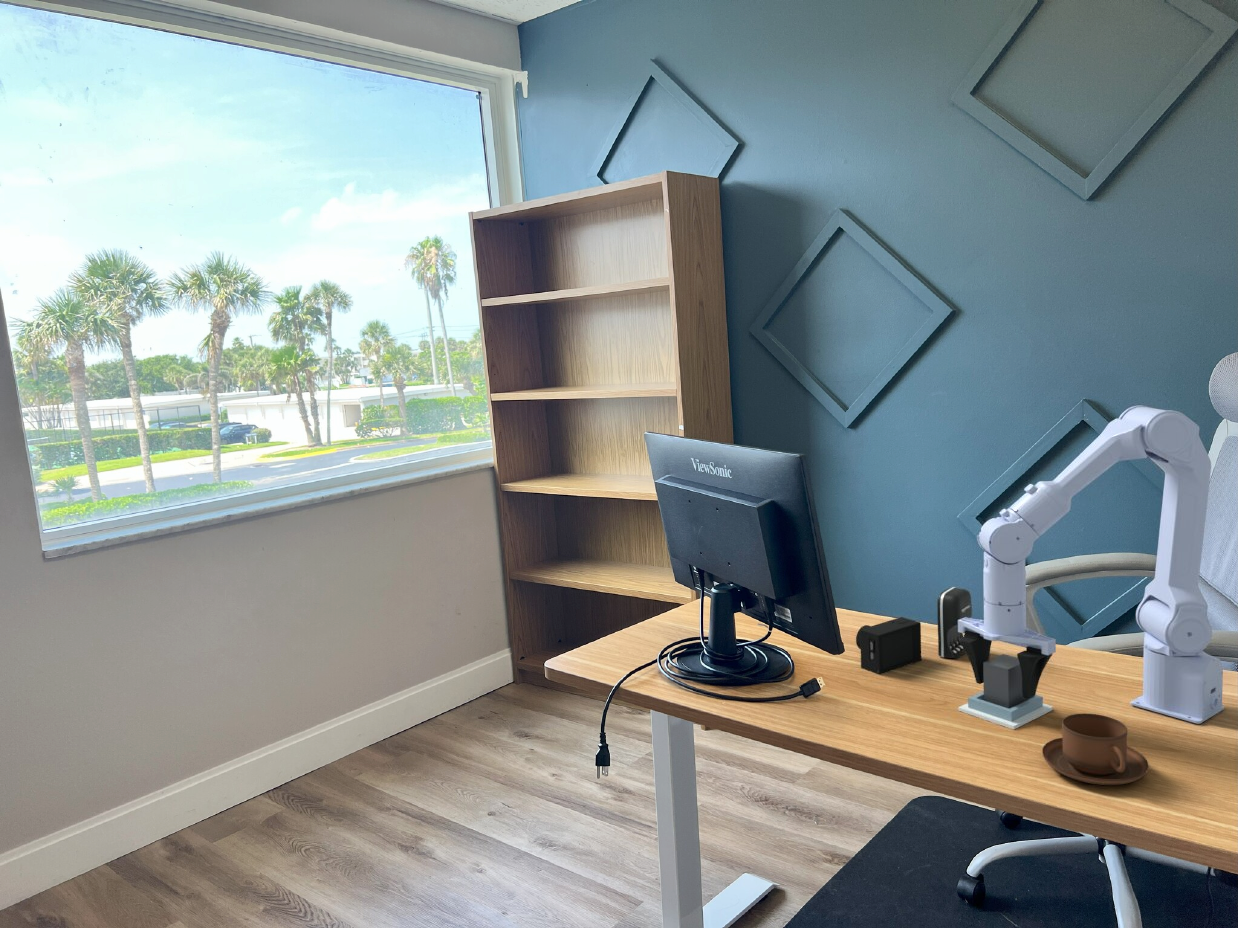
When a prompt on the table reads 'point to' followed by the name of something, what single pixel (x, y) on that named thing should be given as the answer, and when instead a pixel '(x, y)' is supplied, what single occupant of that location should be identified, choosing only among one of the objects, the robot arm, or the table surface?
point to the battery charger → (952, 620)
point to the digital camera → (889, 645)
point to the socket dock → (1006, 710)
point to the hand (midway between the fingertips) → (1005, 688)
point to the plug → (1003, 681)
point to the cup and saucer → (1095, 751)
